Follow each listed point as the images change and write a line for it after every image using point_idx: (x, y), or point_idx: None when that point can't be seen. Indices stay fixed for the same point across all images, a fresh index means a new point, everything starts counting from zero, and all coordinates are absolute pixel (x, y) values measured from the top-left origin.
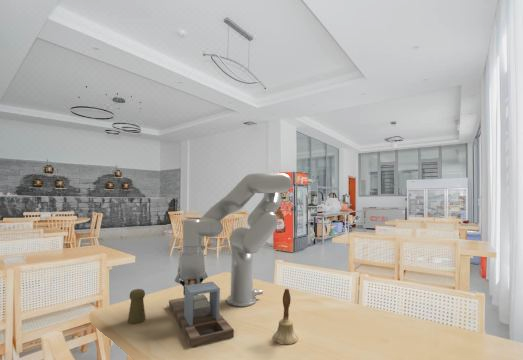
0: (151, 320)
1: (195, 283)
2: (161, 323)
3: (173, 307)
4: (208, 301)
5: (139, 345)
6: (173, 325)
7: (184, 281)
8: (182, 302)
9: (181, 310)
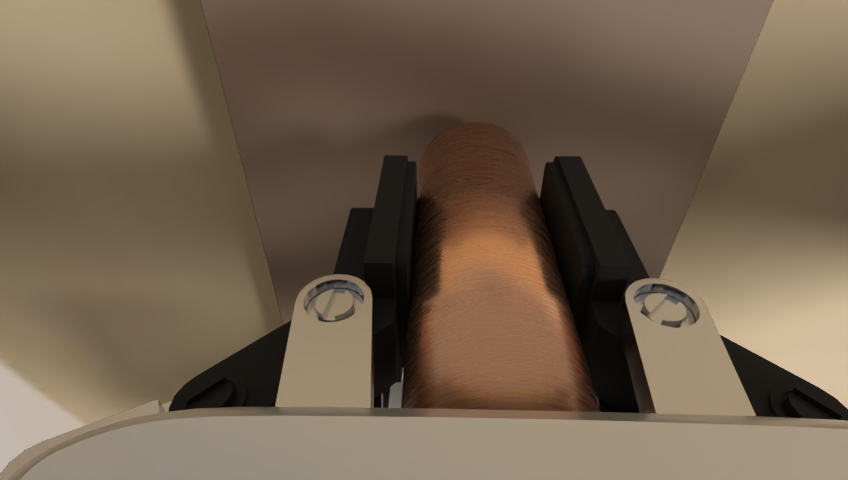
0: (62, 175)
1: (600, 348)
2: (170, 258)
3: (244, 167)
4: (699, 179)
5: (93, 413)
6: (267, 316)
7: (322, 387)
8: (375, 53)
9: (327, 268)
